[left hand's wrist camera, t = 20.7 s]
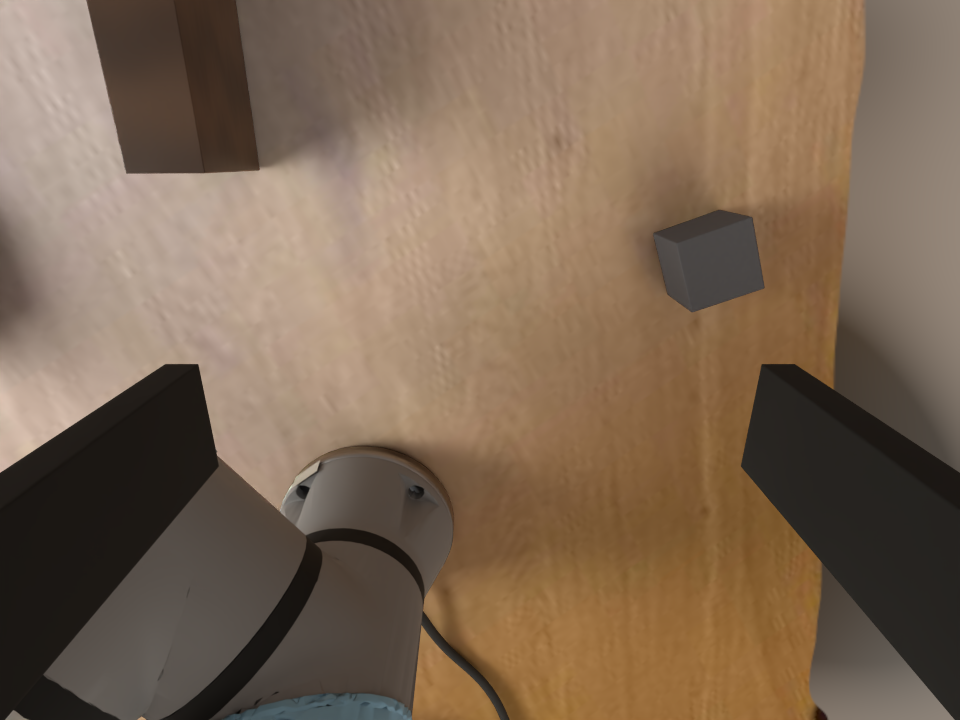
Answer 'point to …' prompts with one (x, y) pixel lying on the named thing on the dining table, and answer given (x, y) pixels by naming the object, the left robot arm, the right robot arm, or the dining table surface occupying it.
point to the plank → (176, 84)
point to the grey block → (710, 259)
